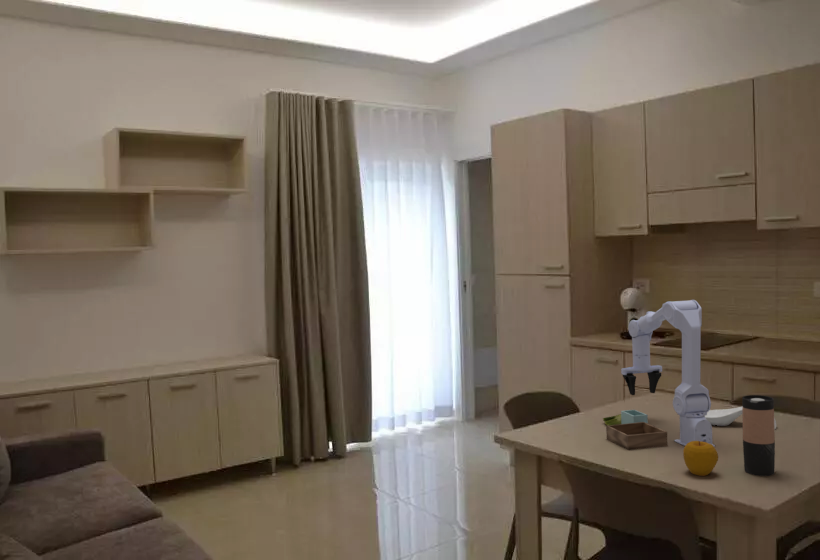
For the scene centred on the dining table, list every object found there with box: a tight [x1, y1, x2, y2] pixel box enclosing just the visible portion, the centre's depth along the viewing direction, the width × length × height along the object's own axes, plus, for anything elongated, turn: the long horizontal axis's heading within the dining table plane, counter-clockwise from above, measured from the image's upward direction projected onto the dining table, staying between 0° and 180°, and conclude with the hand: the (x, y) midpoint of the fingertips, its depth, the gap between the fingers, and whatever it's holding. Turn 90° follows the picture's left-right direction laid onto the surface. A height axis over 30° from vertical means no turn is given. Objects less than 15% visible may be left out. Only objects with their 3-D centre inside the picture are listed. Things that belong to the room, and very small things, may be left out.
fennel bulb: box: [602, 413, 621, 426], centre depth 240 cm, size 6×5×12 cm
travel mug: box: [741, 394, 776, 477], centre depth 186 cm, size 8×8×20 cm
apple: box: [682, 441, 719, 477], centre depth 187 cm, size 9×8×9 cm
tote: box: [620, 409, 649, 424], centre depth 233 cm, size 5×8×6 cm, turn 13°
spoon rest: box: [705, 406, 777, 430], centre depth 234 cm, size 24×12×7 cm, turn 59°
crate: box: [605, 422, 668, 451], centre depth 219 cm, size 13×13×4 cm
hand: (642, 393), depth 242 cm, fingers open, 7 cm apart
